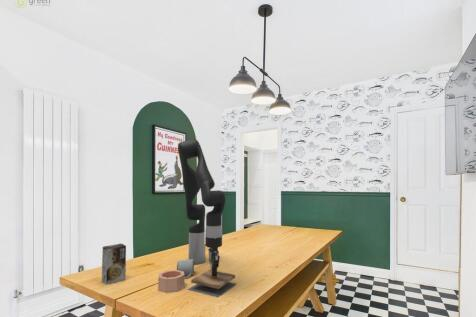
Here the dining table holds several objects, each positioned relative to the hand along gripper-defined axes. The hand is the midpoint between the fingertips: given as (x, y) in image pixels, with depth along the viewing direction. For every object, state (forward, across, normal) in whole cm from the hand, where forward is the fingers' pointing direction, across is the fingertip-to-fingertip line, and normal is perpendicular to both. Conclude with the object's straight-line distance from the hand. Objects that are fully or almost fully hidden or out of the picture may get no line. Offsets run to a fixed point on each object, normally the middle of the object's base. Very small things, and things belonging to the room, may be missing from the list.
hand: (213, 274), depth 119 cm
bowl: (+6, -5, -18) cm, 20 cm away
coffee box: (+6, -23, -44) cm, 50 cm away
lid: (+2, 0, 0) cm, 2 cm away
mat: (+6, 0, 0) cm, 6 cm away
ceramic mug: (+6, -18, -10) cm, 22 cm away
